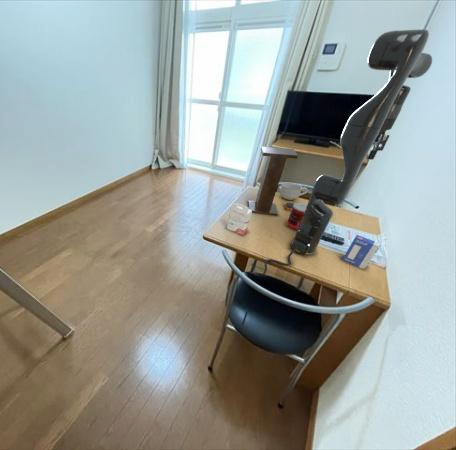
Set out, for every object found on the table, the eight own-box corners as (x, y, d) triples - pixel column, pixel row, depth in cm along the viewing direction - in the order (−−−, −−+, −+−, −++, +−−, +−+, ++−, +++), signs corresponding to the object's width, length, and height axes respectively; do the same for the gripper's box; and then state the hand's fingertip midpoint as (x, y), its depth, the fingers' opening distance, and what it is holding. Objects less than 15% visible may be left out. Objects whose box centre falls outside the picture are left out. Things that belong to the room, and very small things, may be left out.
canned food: (304, 224, 123) (312, 205, 117) (302, 232, 118) (310, 212, 112) (287, 219, 127) (294, 201, 120) (285, 227, 121) (292, 207, 115)
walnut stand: (274, 204, 139) (293, 148, 121) (278, 215, 130) (298, 156, 112) (247, 201, 142) (261, 145, 124) (248, 212, 133) (263, 153, 115)
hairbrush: (327, 210, 135) (329, 207, 133) (330, 215, 131) (332, 211, 129) (284, 205, 139) (285, 202, 138) (286, 209, 135) (287, 206, 134)
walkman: (341, 260, 102) (355, 236, 95) (343, 256, 103) (357, 233, 97) (364, 269, 97) (380, 246, 90) (366, 266, 99) (381, 242, 92)
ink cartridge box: (247, 231, 118) (254, 204, 110) (242, 235, 115) (249, 208, 107) (231, 224, 123) (237, 198, 115) (226, 228, 120) (231, 201, 112)
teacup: (277, 199, 145) (281, 186, 140) (279, 192, 153) (282, 180, 148) (303, 205, 140) (308, 192, 135) (304, 197, 148) (308, 184, 143)
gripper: (366, 111, 104) (349, 150, 113) (383, 118, 92) (362, 160, 102) (386, 112, 102) (367, 151, 112) (406, 119, 91) (383, 162, 100)
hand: (365, 155), depth 107 cm, fingers open, 8 cm apart
